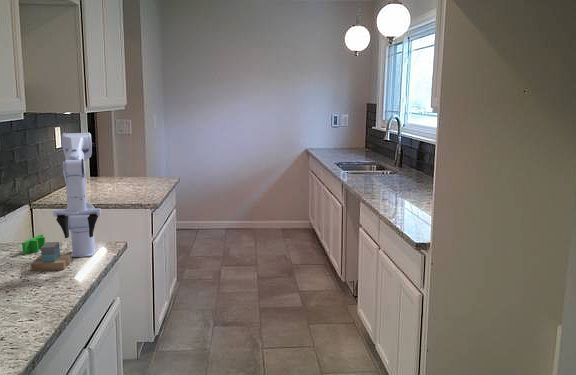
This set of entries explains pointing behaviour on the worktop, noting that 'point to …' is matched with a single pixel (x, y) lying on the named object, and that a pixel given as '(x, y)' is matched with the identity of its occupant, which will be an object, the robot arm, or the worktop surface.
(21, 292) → the worktop surface
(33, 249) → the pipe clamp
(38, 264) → the tan flat block
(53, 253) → the block
